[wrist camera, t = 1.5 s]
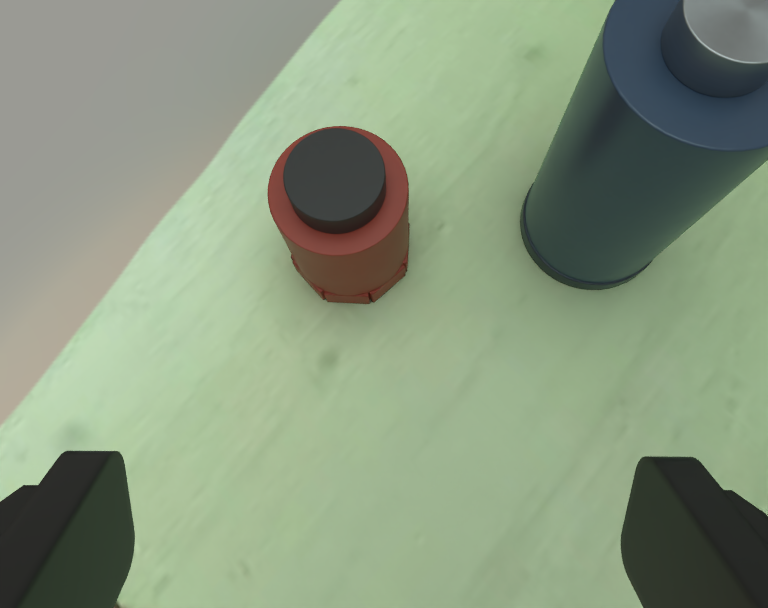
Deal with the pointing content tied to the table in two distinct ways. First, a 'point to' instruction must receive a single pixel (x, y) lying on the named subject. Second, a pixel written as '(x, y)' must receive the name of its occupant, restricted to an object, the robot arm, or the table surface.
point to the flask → (650, 137)
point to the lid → (343, 212)
